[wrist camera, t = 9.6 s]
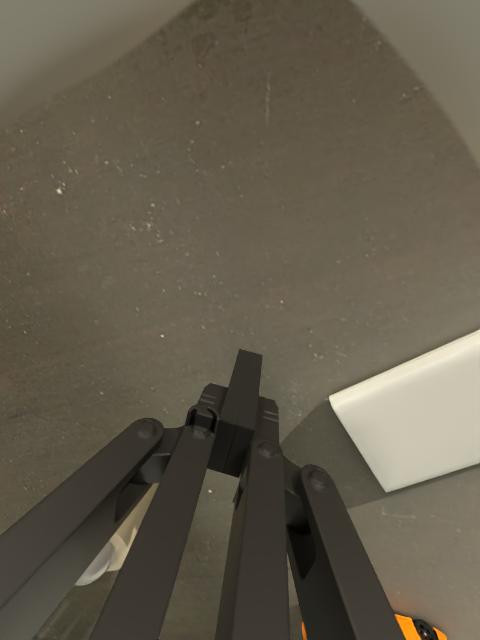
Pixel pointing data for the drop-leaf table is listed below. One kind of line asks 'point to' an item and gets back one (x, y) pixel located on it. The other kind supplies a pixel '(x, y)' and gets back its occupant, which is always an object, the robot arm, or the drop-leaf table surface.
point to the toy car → (411, 630)
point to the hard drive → (417, 415)
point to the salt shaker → (118, 543)
